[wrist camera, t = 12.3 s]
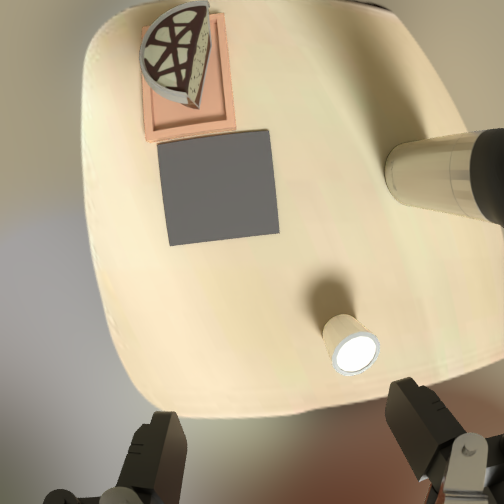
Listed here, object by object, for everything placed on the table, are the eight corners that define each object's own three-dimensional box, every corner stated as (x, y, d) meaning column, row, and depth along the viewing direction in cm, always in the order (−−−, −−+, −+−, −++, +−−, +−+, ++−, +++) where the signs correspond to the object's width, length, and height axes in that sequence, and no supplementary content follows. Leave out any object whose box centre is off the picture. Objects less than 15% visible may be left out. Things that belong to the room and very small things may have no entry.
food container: (168, 35, 30) (151, -3, 21) (214, 37, 31) (208, -4, 21) (150, 117, 33) (122, 97, 23) (197, 120, 33) (184, 98, 24)
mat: (268, 131, 35) (268, 130, 35) (279, 232, 38) (279, 233, 38) (157, 145, 35) (157, 144, 34) (170, 245, 37) (170, 246, 37)
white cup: (320, 311, 41) (335, 334, 34) (364, 308, 41) (384, 329, 34) (316, 352, 42) (328, 379, 35) (358, 348, 43) (375, 372, 36)
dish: (224, 19, 31) (224, 12, 29) (236, 130, 35) (236, 127, 33) (145, 33, 31) (142, 27, 29) (150, 142, 34) (145, 140, 32)
